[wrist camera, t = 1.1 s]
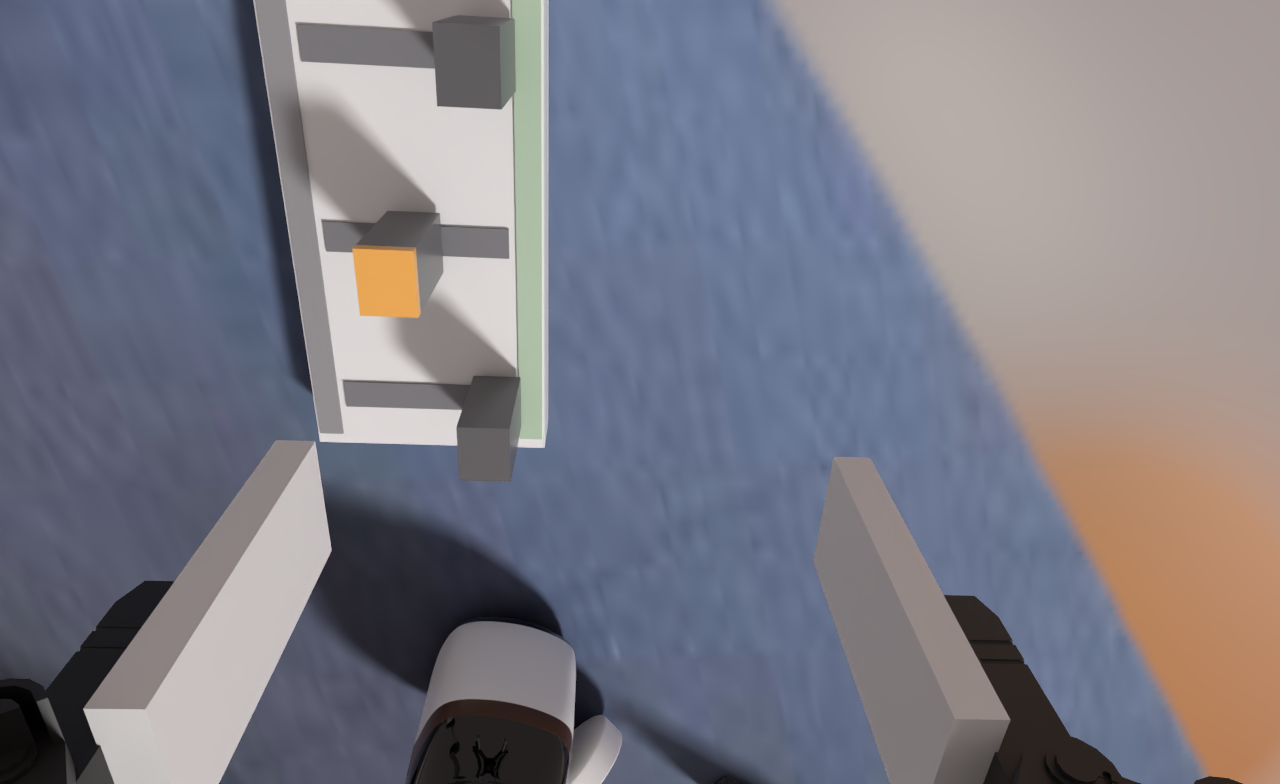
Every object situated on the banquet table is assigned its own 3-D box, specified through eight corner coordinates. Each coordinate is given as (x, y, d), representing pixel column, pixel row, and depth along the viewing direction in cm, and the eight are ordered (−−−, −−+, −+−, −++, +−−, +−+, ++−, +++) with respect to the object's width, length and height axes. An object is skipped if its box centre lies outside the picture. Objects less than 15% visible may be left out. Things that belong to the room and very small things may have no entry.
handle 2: (473, 375, 34) (456, 427, 30) (520, 377, 34) (509, 428, 31) (475, 424, 35) (459, 480, 32) (521, 425, 36) (510, 481, 32)
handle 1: (456, 15, 28) (432, 22, 24) (514, 18, 28) (499, 25, 24) (460, 88, 29) (436, 106, 25) (515, 91, 29) (501, 109, 25)
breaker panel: (274, -39, 29) (245, -40, 27) (548, -23, 30) (543, -22, 28) (337, 414, 38) (319, 442, 36) (548, 420, 39) (544, 448, 36)
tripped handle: (387, 210, 31) (352, 248, 27) (440, 212, 31) (413, 251, 27) (392, 270, 32) (359, 315, 28) (443, 272, 32) (418, 317, 28)
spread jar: (456, 582, 43) (409, 774, 33) (655, 626, 45) (669, 820, 35) (414, 731, 48) (361, 936, 38) (594, 764, 50) (591, 969, 40)
